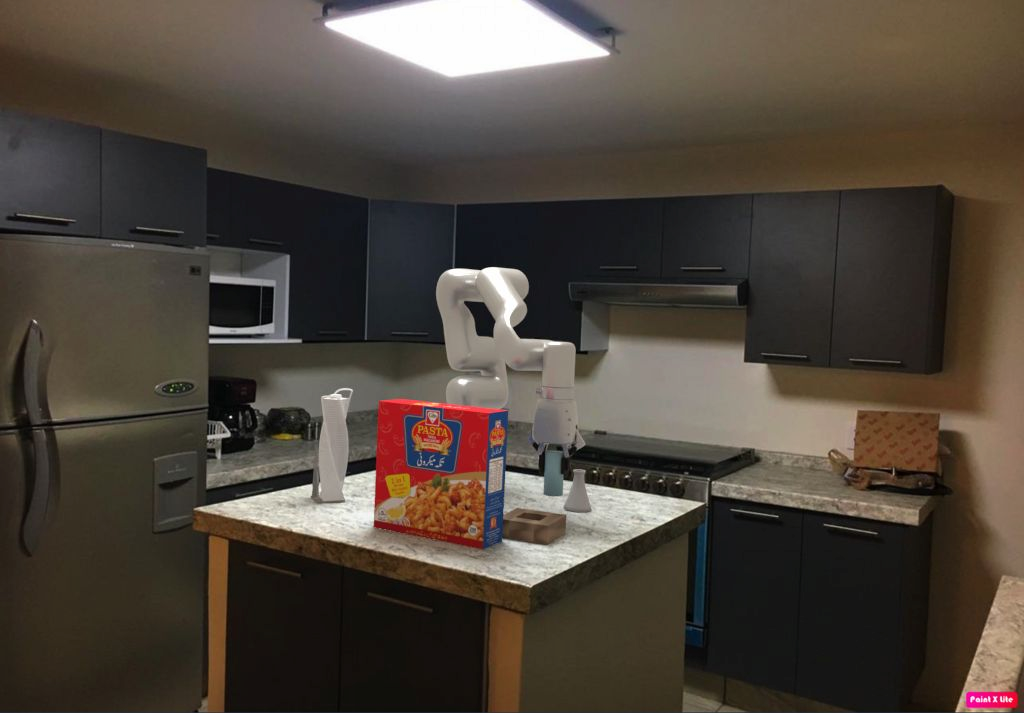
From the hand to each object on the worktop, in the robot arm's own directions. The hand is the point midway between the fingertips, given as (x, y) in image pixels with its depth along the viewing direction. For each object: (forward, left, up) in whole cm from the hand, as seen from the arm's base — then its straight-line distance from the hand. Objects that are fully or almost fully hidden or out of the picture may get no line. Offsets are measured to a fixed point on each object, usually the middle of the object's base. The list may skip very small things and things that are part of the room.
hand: (554, 471), depth 197 cm
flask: (+1, +17, -12) cm, 21 cm away
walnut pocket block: (0, -13, -12) cm, 18 cm away
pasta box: (-18, -24, -12) cm, 32 cm away
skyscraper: (-55, -9, -12) cm, 57 cm away
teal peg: (0, 0, -5) cm, 5 cm away
